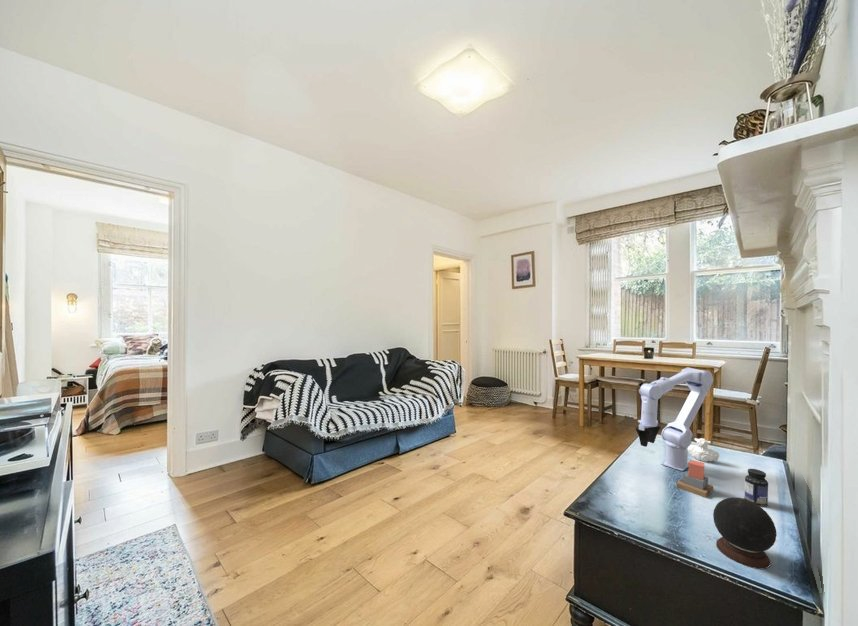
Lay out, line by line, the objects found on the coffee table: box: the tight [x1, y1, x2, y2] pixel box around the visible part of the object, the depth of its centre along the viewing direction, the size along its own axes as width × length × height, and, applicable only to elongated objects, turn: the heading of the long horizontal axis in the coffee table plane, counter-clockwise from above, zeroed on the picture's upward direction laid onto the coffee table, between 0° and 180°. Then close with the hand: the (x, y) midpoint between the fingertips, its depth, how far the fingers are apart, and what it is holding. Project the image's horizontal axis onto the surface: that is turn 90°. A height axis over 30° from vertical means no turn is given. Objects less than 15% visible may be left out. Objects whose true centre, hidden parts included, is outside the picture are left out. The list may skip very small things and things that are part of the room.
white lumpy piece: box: [687, 437, 720, 463], centre depth 161 cm, size 12×8×11 cm
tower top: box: [683, 472, 709, 490], centre depth 134 cm, size 6×6×3 cm
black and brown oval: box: [712, 496, 777, 569], centre depth 98 cm, size 13×13×15 cm
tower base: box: [676, 477, 714, 499], centre depth 134 cm, size 9×9×2 cm
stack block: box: [687, 459, 705, 480], centre depth 135 cm, size 4×4×5 cm
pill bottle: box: [744, 468, 769, 507], centre depth 126 cm, size 6×6×11 cm
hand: (647, 444), depth 151 cm, fingers open, 7 cm apart
